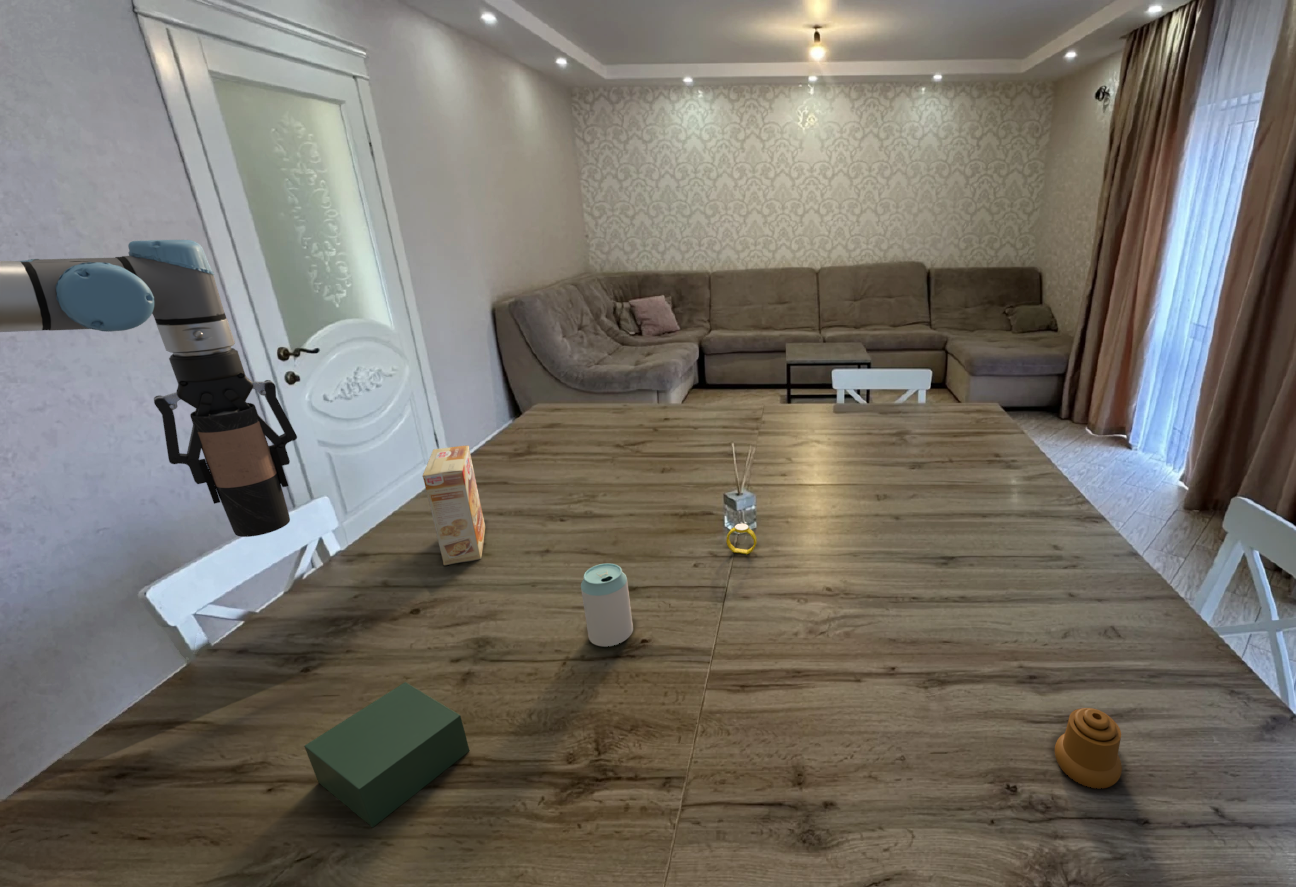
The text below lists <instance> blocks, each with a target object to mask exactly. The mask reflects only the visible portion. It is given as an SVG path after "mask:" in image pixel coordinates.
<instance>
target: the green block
mask: <svg viewBox="0 0 1296 887" xmlns="http://www.w3.org/2000/svg"><path fill="white" fill-rule="evenodd" d="M303 747H304V749H305V752H306V755H307V757H308V759H309V760H308V761H309V762H310V764H311V767H312V770H313V772H314V775H315V777H316V780H317V783H318V784H320V786H322V787H323V788H324V789H325V790H327V791H328V792H329V793H330V794H331V795H333V796H334V797H335V798H336V799H338V800H339V801H340V802H341V803H342V804H343V805H345V806H346V807H347V809H350V811H352V812H353V813H354V814H355V815H357V816H358V817H359V818H360V819H361V820H362V821H364V822H365V823H366V824H367V825H369V827H371V828H374V827H375V826H377V825H378V824H380V823H381V822H382V821H383V820H385V819H386V818H387V817H388V816H390V815H391V814H392V813H393V812H394V811H396V810H397V809H398V808H400V807H401V806H402V805H404V804H405V803H406V802H407V801H408V800H410V799H411V798H412V797H414V796H415V795H416V794H418V793H419V792H420V791H421V790H422V789H424V788H425V787H426V786H428V784H430V783H431V782H433V781H434V780H435V779H436V778H437V777H439V776H440V775H441V774H442V773H444V772H445V771H446V770H448V769H449V768H450V767H452V766H453V765H454V764H455V763H456V762H458V761H459V760H460V759H462V758H463V757H464V756H465V755H467V754H468V753H469V752H470V747H469V742H468V739H467V735H466V731H465V727H464V724H463V720H462V716H461V714H459V713H458V712H457V711H454V710H453V709H451V708H449V707H448V706H446V705H444V704H443V703H441V702H439V701H438V700H436V699H434V698H433V697H431V696H429V695H428V694H426V693H424V691H423V692H422V690H420V689H418V688H416V687H415V686H413V685H411V684H410V683H408V682H406V681H404V682H403V683H401V684H400V685H398V686H396V687H395V688H393V689H392V690H390V691H389V692H387V693H385V694H384V695H382V696H381V697H379V698H377V699H376V700H375V701H372V702H371V703H370V704H368V705H366V706H365V707H363V708H362V709H360V710H359V711H356V712H355V713H353V714H352V715H351V716H349V717H347V718H346V719H344V720H342V721H341V722H339V723H338V724H336V725H335V726H333V727H332V728H330V729H329V730H327V731H325V732H324V733H322V734H320V735H319V736H317V737H316V738H314V739H312V740H311V741H309V742H308V743H306V744H305V745H304V746H303Z"/></svg>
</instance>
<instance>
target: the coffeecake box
mask: <svg viewBox="0 0 1296 887" xmlns="http://www.w3.org/2000/svg"><path fill="white" fill-rule="evenodd" d="M421 477H422V479H423V482H424V487H425V492H426V496H427V500H428V505H429V508H430V512H431V517H432V521H433V525H434V530H435V534H436V539H437V543H438V546H439V550H440V554H441V559H442V565H443V566H448V565H454V564H459V563H466V562H472V561H477V560H482V558H483V557H482V556H483V549H484V542H485V533H486V523H485V519H484V513H483V509H482V504H481V500H480V494H479V491H478V485H477V480H476V474H475V469H474V466H473V461H472V455H471V451H470V445H459V446H458V445H457V446H451V447H441V448H434V449H432V452H431V453H430V456H429V459H428V460H427V464H426V465H425V469H424V470H423V473H422V476H421Z"/></svg>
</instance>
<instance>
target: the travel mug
mask: <svg viewBox="0 0 1296 887" xmlns="http://www.w3.org/2000/svg"><path fill="white" fill-rule="evenodd" d="M247 404H248V405H249V406H250V407H251V408H249V409H246V410H243V411H240V410H239V409H237V410H236V411H223V412H220V413H218V414H212V415H210V414H209V416H208V417H197V416H195V411H196V410H194V411H193V412H191V413H190V414H189V416H190V419H191V423H192V426H193V425H195V426H196V429H197V431H198V434H199V437H200V440H201V443H202V447H201V452H202V454H203V457H204V459H205V460H206V463H207V466H208V469H209V471H210V474H211V477H212V480H213V483H214V485H215V488H216V491H217V493H218V496H219V499H220V503H221V504H222V507H223V509H224V513H225V514H226V518H227V519H228V522H229V523H230V526H231V529H232V532H233V533H234V535H235V536H237V537H240V538H241V537H242V538H249V537H251V538H252V537H259V536H263V535H266V534H269V533H270V534H271V533H272V532H275V531H278V530H280V529H282V528H284V527H286V526H287V525H288V524H289V523H290V522H291V517H290V512H289V510H288V506H287V502H286V499H285V494H284V492H283V487H282V485H281V483H280V480H279V476H278V473H277V470H276V467H275V464H274V461H273V458H272V455H271V452H270V449H269V446H270V445H269V443H268V439H267V437H266V436H265V435H264V434H263V431H262V428H261V425H260V423H259V420H258V417H257V415H259V413H258V410H257V407H256V405H255V404H254V403H251V402H247Z"/></svg>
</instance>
